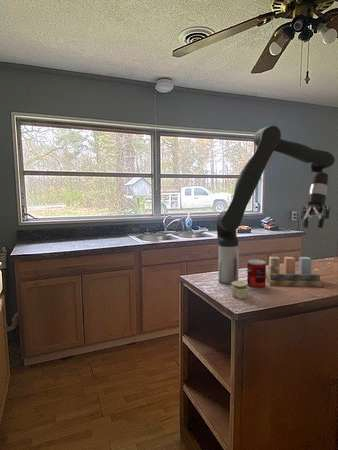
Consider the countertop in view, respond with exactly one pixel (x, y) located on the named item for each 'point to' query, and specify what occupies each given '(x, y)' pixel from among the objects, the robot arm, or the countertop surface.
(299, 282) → the wooden board with bar
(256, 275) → the canned food
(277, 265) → the maple key
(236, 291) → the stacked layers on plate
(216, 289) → the countertop surface
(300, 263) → the slate key
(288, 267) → the salmon orange block
